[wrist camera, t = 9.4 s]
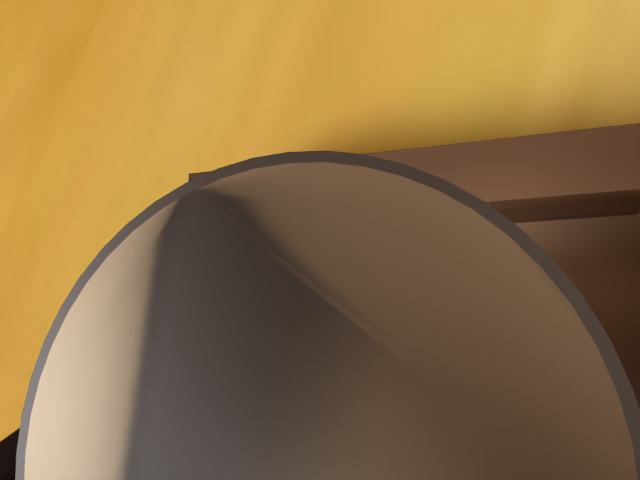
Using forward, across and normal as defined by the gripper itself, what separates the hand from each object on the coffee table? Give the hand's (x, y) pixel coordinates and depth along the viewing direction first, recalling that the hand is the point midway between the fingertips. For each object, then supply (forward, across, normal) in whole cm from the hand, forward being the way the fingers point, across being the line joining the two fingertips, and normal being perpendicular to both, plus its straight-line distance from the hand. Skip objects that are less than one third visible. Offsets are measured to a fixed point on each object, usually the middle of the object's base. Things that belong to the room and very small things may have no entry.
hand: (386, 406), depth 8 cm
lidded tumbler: (+6, 0, +6) cm, 8 cm away
